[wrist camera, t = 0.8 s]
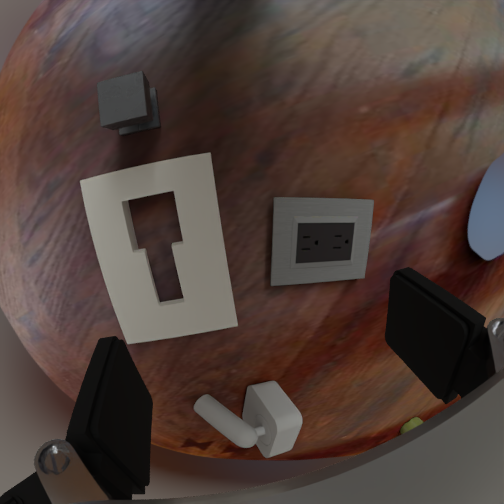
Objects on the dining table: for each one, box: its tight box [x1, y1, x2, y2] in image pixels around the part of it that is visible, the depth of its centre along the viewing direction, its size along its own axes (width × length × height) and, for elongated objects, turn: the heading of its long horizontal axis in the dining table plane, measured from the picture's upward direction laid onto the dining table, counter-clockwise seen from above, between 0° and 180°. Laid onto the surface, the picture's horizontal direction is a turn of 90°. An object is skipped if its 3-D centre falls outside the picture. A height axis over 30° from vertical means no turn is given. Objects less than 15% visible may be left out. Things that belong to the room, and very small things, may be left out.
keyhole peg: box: [97, 71, 161, 136], centre depth 24 cm, size 4×4×9 cm
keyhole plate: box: [80, 153, 238, 344], centre depth 32 cm, size 20×14×3 cm
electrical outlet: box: [270, 197, 374, 286], centre depth 36 cm, size 13×10×2 cm
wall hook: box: [194, 381, 302, 458], centre depth 38 cm, size 10×12×12 cm
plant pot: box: [400, 417, 424, 434], centre depth 55 cm, size 9×9×9 cm
